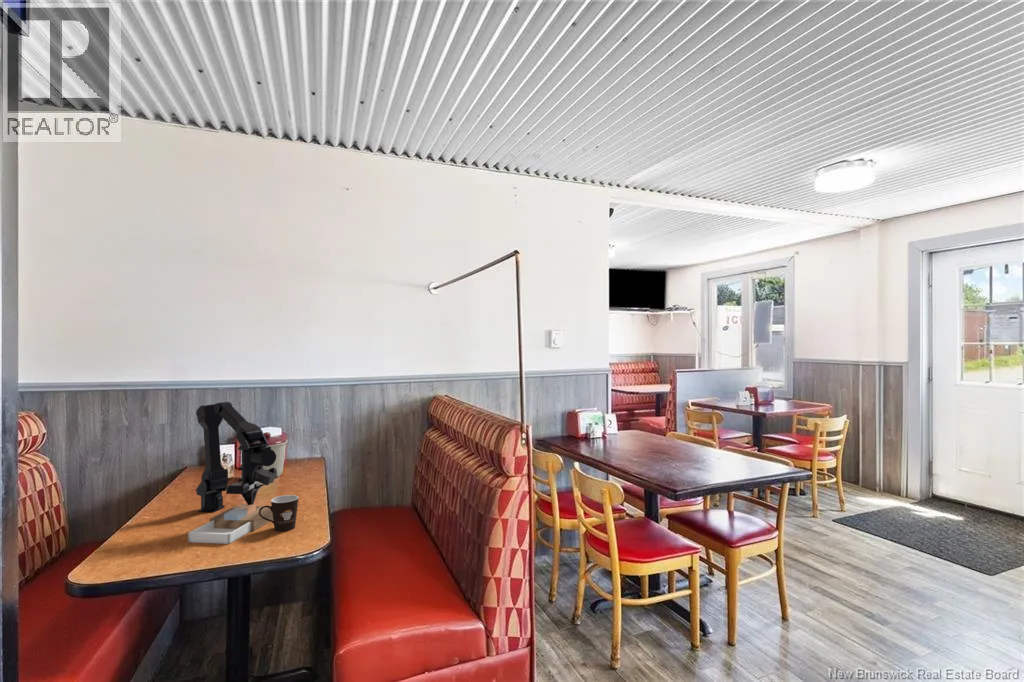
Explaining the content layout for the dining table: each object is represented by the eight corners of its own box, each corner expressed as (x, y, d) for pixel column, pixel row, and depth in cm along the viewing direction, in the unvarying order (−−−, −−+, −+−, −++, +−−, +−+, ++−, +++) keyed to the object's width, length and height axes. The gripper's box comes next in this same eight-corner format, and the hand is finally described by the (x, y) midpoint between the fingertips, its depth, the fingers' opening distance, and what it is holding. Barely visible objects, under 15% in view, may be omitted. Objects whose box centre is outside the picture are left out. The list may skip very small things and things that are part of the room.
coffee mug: (301, 523, 177) (301, 494, 177) (295, 532, 168) (295, 502, 168) (265, 525, 175) (265, 496, 175) (257, 534, 166) (257, 504, 166)
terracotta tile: (233, 514, 175) (233, 509, 175) (242, 510, 180) (242, 504, 180) (246, 515, 174) (246, 509, 174) (255, 510, 179) (255, 504, 179)
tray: (188, 542, 160) (188, 532, 160) (212, 529, 171) (212, 520, 171) (229, 543, 158) (229, 534, 158) (251, 530, 169) (251, 521, 169)
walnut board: (209, 529, 171) (209, 518, 171) (236, 515, 185) (236, 505, 185) (254, 530, 169) (254, 520, 169) (277, 516, 183) (277, 506, 183)
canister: (236, 482, 228) (236, 435, 228) (258, 472, 246) (258, 428, 246) (275, 482, 227) (275, 436, 227) (294, 472, 245) (294, 429, 245)
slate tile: (223, 519, 170) (223, 513, 170) (233, 514, 175) (233, 508, 175) (237, 520, 169) (237, 514, 169) (247, 515, 174) (247, 509, 174)
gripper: (256, 470, 170) (256, 516, 170) (286, 457, 189) (286, 499, 189) (225, 469, 171) (225, 515, 171) (258, 456, 190) (258, 498, 190)
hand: (250, 506), depth 180 cm, fingers closed
